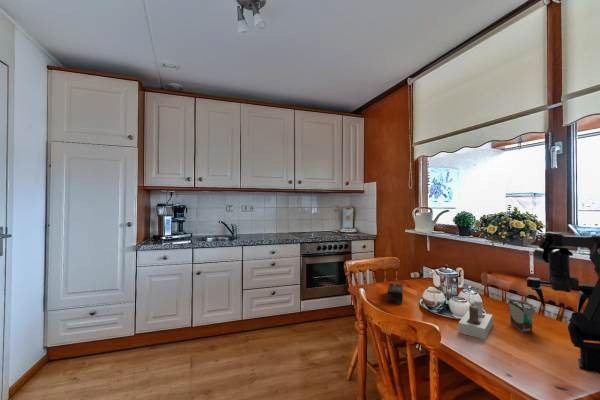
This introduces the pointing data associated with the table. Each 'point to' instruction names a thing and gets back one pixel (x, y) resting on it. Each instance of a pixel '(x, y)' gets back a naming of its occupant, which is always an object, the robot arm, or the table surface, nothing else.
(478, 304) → the grey peg
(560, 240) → the robot arm
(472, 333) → the hole block
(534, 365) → the table surface
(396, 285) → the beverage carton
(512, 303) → the food container
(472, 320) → the walnut peg
